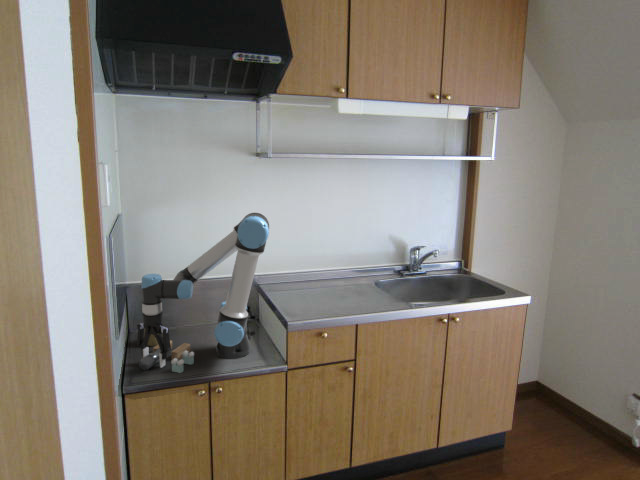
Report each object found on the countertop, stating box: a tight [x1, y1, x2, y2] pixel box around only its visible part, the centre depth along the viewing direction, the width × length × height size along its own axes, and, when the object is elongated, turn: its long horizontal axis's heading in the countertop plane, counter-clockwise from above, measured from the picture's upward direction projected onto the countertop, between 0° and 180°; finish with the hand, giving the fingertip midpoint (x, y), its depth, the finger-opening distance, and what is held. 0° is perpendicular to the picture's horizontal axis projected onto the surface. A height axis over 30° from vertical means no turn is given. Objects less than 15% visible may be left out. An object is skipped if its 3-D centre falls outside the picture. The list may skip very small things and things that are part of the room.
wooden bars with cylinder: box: [152, 339, 191, 361], centre depth 195 cm, size 12×10×4 cm
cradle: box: [170, 350, 195, 374], centre depth 183 cm, size 10×5×5 cm, turn 163°
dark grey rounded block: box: [138, 348, 161, 371], centre depth 185 cm, size 11×5×5 cm
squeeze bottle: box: [144, 329, 162, 347], centre depth 202 cm, size 8×8×18 cm
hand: (154, 364), depth 184 cm, fingers open, 7 cm apart
